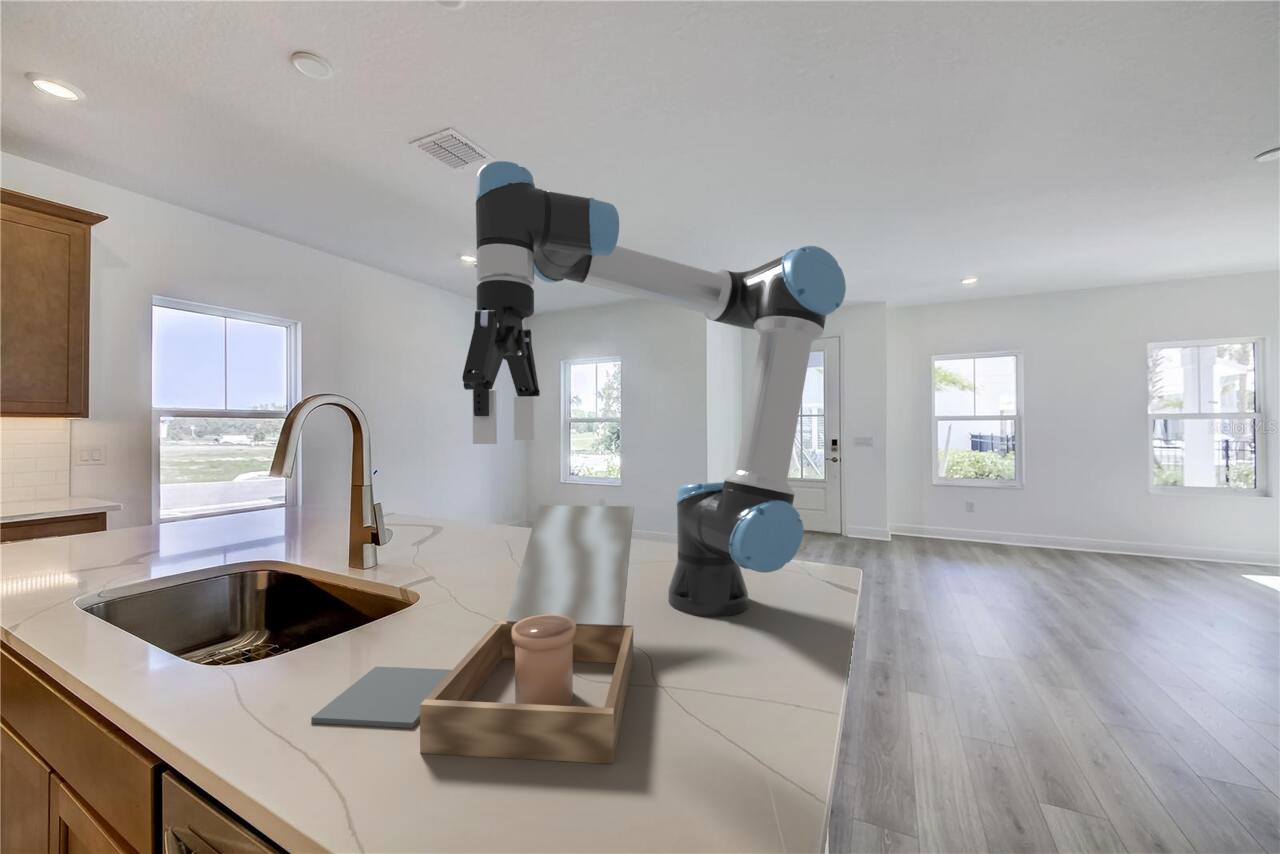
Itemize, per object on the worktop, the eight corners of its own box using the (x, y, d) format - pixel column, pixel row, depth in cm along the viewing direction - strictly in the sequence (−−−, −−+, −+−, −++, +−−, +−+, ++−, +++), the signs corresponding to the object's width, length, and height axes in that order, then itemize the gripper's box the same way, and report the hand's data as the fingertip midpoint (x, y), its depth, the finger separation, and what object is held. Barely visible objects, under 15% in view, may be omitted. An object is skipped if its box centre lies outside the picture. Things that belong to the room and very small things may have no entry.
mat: (460, 674, 68) (460, 670, 68) (412, 728, 56) (412, 722, 56) (375, 670, 69) (375, 666, 69) (311, 722, 57) (311, 717, 57)
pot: (581, 684, 65) (581, 615, 65) (568, 719, 57) (568, 641, 57) (523, 681, 66) (523, 613, 66) (502, 716, 58) (502, 638, 58)
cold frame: (642, 616, 88) (642, 506, 88) (612, 763, 50) (612, 569, 50) (531, 612, 90) (531, 504, 90) (420, 753, 51) (419, 564, 51)
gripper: (513, 307, 81) (514, 439, 81) (429, 255, 56) (431, 445, 56) (558, 306, 80) (559, 439, 80) (494, 252, 55) (495, 445, 55)
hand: (506, 442), depth 68 cm, fingers open, 13 cm apart
